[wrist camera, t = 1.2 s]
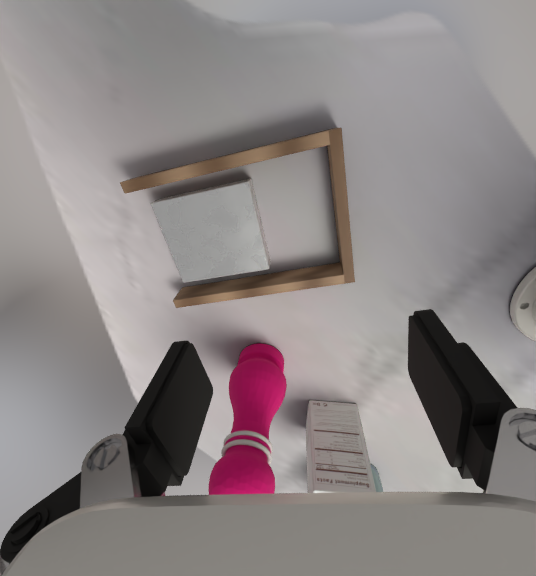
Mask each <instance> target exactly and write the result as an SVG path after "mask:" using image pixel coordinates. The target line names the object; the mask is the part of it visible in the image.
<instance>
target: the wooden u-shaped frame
mask: <svg viewBox="0 0 536 576" xmlns="http://www.w3.org/2000/svg"><path fill="white" fill-rule="evenodd" d="M323 146H327V149H328V158H329V167H330V176H331V185H332V194H333V203H334V212H335V221H336V231H337V240H338V249H339V258H340V263H333V264H327V265H321V266H315V267H308V268H302V269H296V270H290V271H283V272H277V273H271V274H264V275H258V276H252V277H246V278H239V279H233V280H227V281H220V282H214V283H208V284H202V285H195V286H189V287H183V288H182V289H181V290H180V291H179V293H178V294H177V296H176V297H175V298H174V300H173V302H174V304H175V306H176V308H179V307H186V306H192V305H199V304H206V303H213V302H220V301H227V300H234V299H241V298H248V297H254V296H261V295H268V294H275V293H282V292H289V291H296V290H303V289H310V288H317V287H323V286H330V285H337V284H344V283H351V282H355V279H354V268H353V256H352V244H351V233H350V221H349V210H348V198H347V187H346V175H345V164H344V152H343V141H342V129H341V128H334V129H330V130H325V131H321V132H317V133H313V134H309V135H305V136H301V137H297V138H293V139H289V140H285V141H281V142H277V143H273V144H269V145H265V146H261V147H257V148H253V149H249V150H245V151H241V152H237V153H233V154H229V155H225V156H221V157H217V158H213V159H209V160H205V161H201V162H196V163H192V164H188V165H184V166H180V167H176V168H172V169H168V170H164V171H160V172H156V173H152V174H148V175H144V176H140V177H136V178H133V179H130V180H126V181H123V182H120V184H121V186H122V189H123V191H124V193H129V192H134V191H138V190H142V189H146V188H150V187H155V186H159V185H163V184H167V183H171V182H176V181H180V180H184V179H188V178H192V177H197V176H201V175H205V174H209V173H213V172H218V171H222V170H226V169H230V168H235V167H239V166H243V165H247V164H251V163H256V162H260V161H264V160H268V159H272V158H277V157H281V156H285V155H289V154H293V153H298V152H302V151H306V150H310V149H314V148H319V147H323Z"/></svg>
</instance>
